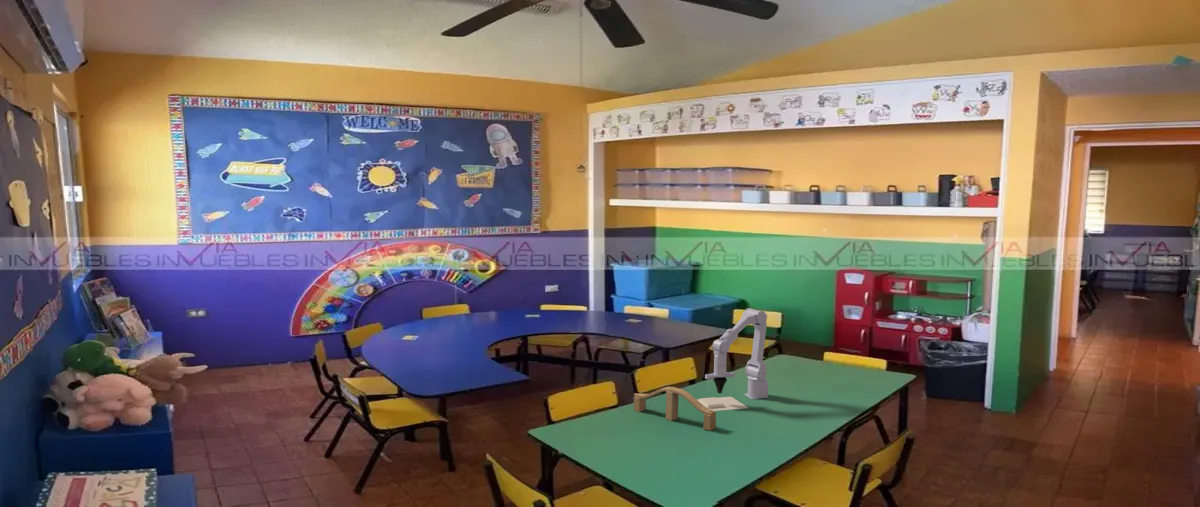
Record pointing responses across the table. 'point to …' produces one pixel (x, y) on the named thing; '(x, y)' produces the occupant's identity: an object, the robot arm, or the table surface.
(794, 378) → the table surface
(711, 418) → the toy bridge
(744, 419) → the table surface
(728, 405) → the mat
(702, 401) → the tile
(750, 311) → the robot arm
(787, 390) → the table surface
